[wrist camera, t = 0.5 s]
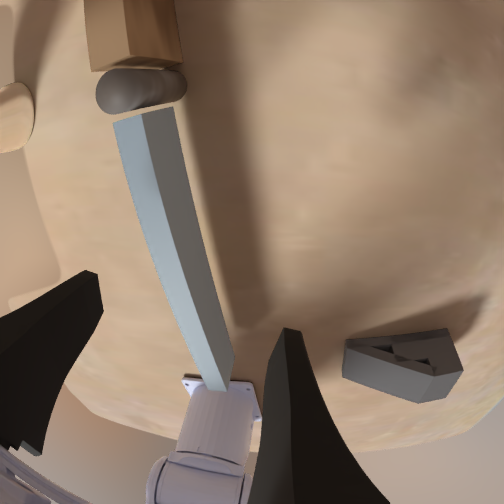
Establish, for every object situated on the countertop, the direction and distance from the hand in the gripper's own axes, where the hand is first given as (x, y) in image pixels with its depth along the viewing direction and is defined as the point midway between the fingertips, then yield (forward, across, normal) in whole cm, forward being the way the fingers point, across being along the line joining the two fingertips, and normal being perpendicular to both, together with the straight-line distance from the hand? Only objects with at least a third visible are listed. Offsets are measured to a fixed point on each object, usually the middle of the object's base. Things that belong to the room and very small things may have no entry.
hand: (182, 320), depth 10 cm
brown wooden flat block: (+9, +7, -12) cm, 16 cm away
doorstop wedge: (+10, -17, +9) cm, 22 cm away
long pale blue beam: (+8, +1, +3) cm, 8 cm away
